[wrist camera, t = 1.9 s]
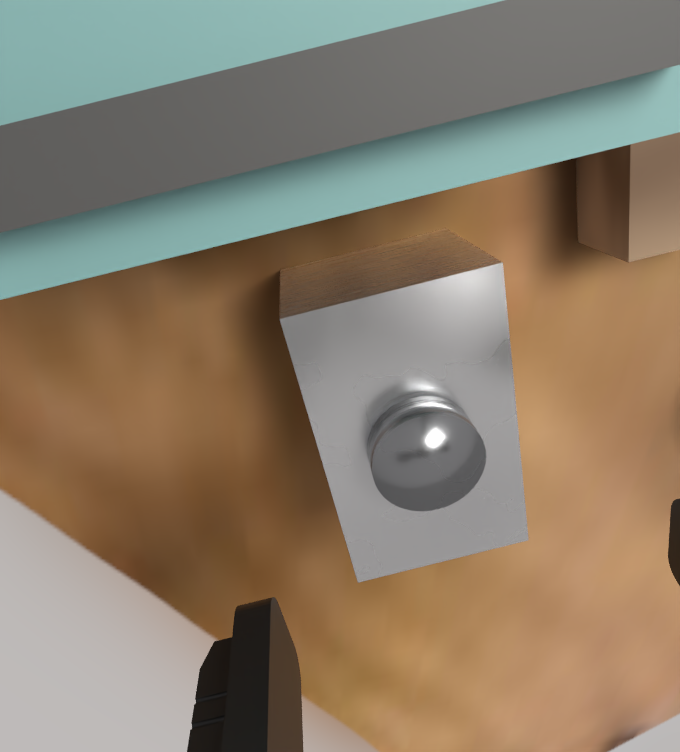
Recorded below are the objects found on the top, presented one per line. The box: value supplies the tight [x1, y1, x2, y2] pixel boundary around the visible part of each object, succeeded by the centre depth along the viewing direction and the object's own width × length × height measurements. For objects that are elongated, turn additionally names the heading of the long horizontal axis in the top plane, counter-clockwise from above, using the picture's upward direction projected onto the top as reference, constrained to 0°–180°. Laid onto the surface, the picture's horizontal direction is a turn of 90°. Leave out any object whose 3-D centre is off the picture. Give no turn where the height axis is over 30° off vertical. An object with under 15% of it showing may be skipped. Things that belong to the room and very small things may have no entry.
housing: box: [280, 228, 528, 582], centre depth 16 cm, size 9×6×6 cm, turn 13°
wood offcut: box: [576, 132, 680, 262], centre depth 15 cm, size 6×4×3 cm, turn 13°
